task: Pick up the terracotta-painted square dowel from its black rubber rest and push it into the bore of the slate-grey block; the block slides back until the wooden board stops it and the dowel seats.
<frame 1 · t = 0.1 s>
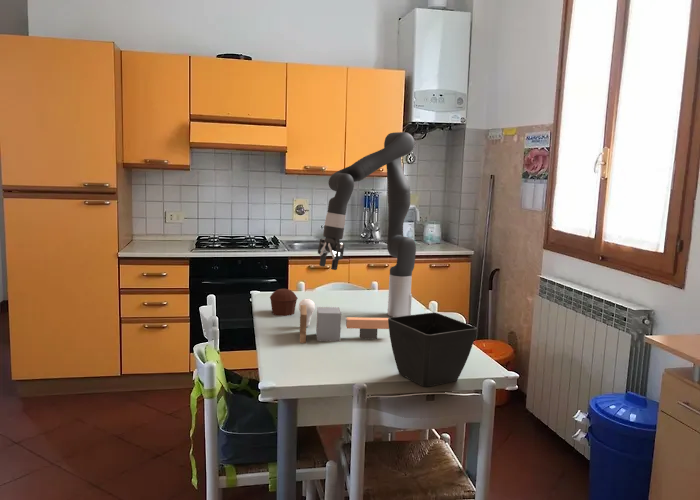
hand: (327, 267, 224), 22 cm above the table, tool pointing down, fingers open, 8 cm apart
lightbulb: (306, 327, 223), on the table
dowel: (368, 327, 211), point 4 cm above the table, touching rest
wooden board: (302, 337, 210), on the table
flower pot: (428, 378, 174), on the table
block: (328, 323, 210), point 5 cm above the table, slide at 0.0 cm
muffin: (283, 313, 242), on the table
rest: (368, 338, 212), on the table
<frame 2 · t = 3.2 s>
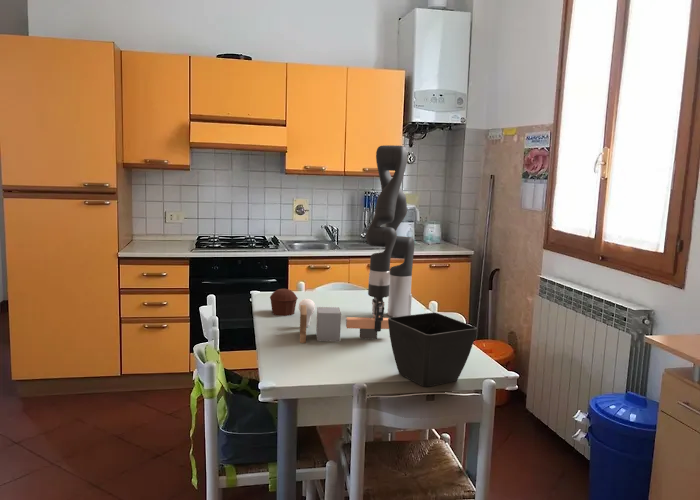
hand: (376, 329, 212), 3 cm above the table, tool pointing down, fingers closed on dowel, 3 cm apart
dowel: (368, 327, 211), point 4 cm above the table, touching gripper, rest
everything else where it was.
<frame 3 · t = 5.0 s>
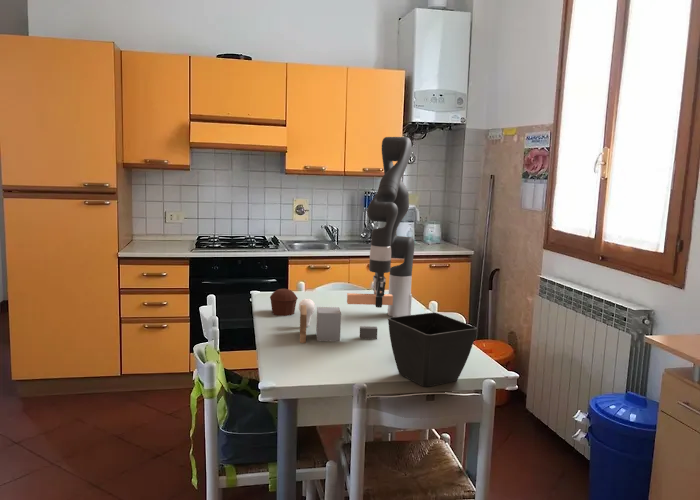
hand: (377, 305, 210), 12 cm above the table, tool pointing down, fingers closed on dowel, 3 cm apart
dowel: (369, 303, 210), point 13 cm above the table, touching gripper
everything else where it was.
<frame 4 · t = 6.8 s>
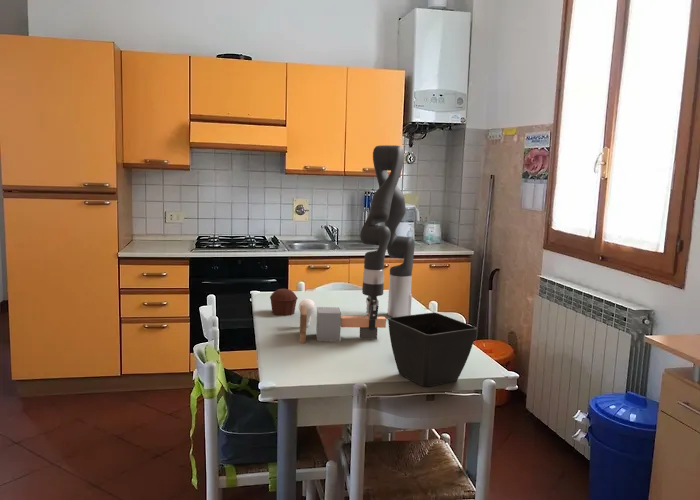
hand: (371, 328, 211), 4 cm above the table, tool pointing down, fingers closed on dowel, 3 cm apart
dowel: (362, 326, 211), point 4 cm above the table, touching gripper
everything else where it was.
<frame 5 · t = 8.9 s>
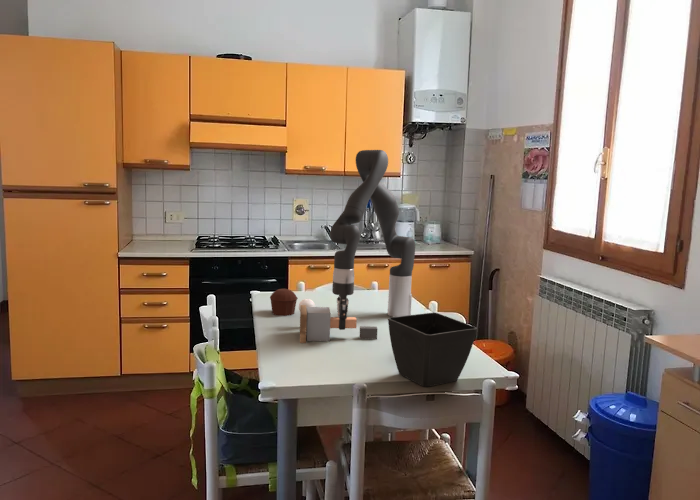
hand: (341, 327, 210), 4 cm above the table, tool pointing down, fingers closed on dowel, 3 cm apart
dowel: (333, 327, 210), point 4 cm above the table, touching block, gripper
block: (318, 323, 209), point 5 cm above the table, slide at 3.7 cm, touching dowel
everything else where it was.
when the fingers open (4 cm above the table, at t = 10.3 s): dowel stays where it is, resting on block.
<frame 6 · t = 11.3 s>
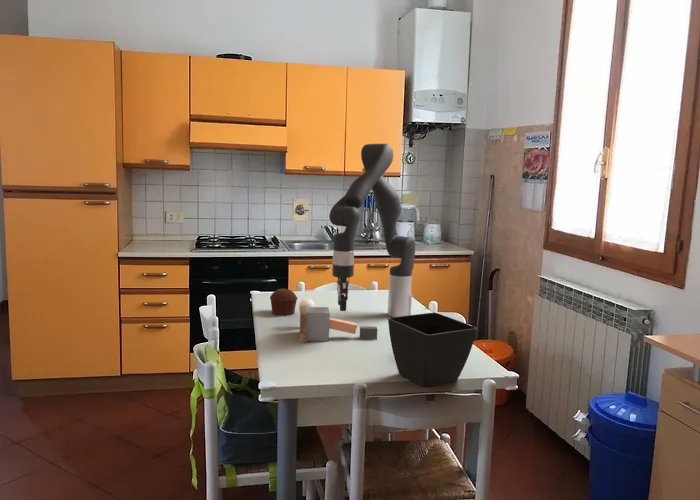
hand: (341, 307, 210), 11 cm above the table, tool pointing down, fingers open, 8 cm apart
dowel: (332, 328, 210), point 3 cm above the table, tilted 12°, touching block
block: (317, 323, 209), point 5 cm above the table, slide at 4.0 cm, touching dowel
everything else where it was.
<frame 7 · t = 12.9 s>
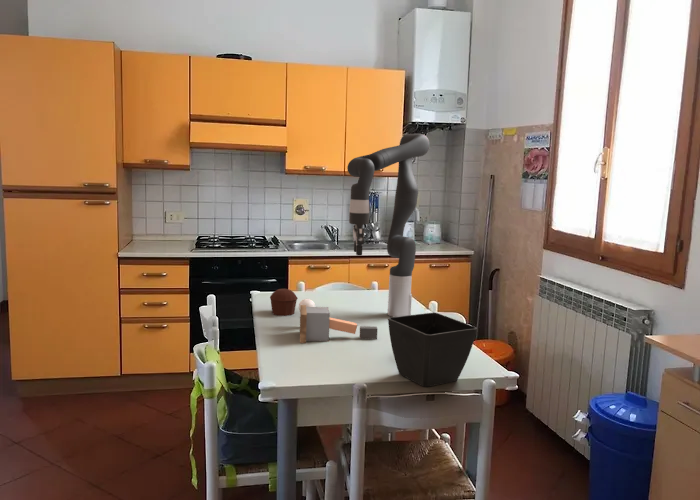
hand: (357, 253, 226), 28 cm above the table, tool pointing down, fingers open, 8 cm apart
nothing on the table moved.
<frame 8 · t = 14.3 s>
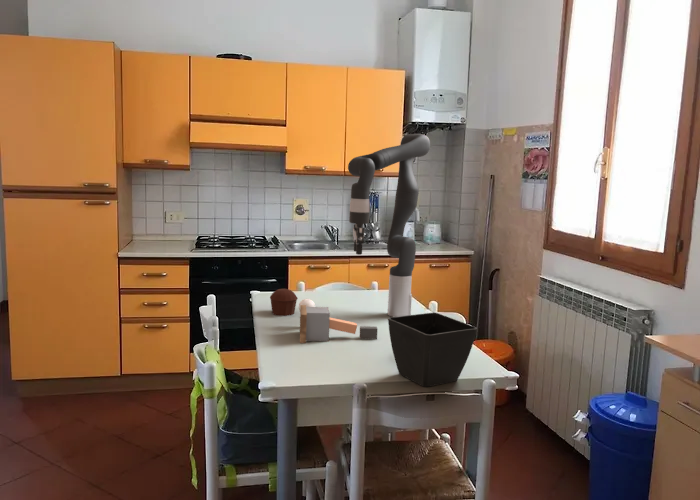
hand: (357, 252, 226), 28 cm above the table, tool pointing down, fingers open, 8 cm apart
nothing on the table moved.
at the end: dowel 0.5 cm from the target spot on the block, point 3.5 cm above the block's base; block slide at 4.0 cm; the gripper is holding nothing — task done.
